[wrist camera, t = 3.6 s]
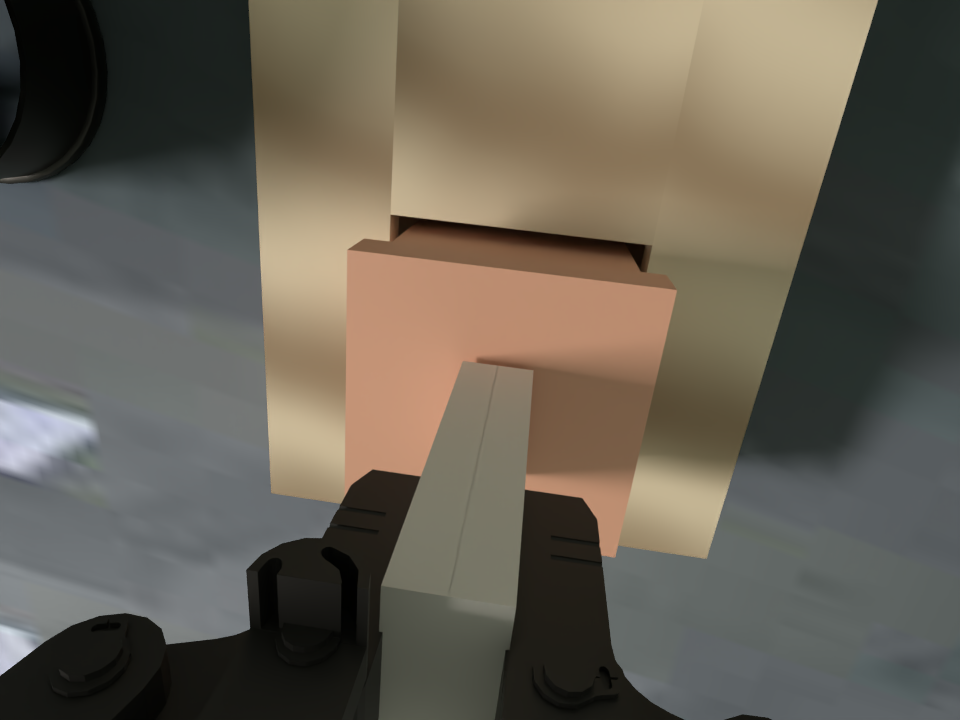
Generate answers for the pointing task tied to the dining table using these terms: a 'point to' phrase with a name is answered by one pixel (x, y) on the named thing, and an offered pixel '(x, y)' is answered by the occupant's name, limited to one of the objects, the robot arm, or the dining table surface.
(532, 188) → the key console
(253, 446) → the dining table surface
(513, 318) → the terracotta key
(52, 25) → the french press
